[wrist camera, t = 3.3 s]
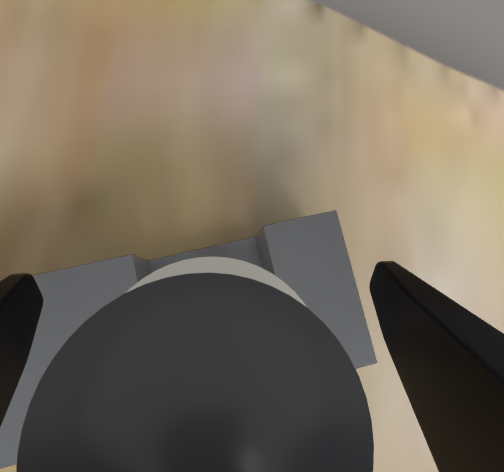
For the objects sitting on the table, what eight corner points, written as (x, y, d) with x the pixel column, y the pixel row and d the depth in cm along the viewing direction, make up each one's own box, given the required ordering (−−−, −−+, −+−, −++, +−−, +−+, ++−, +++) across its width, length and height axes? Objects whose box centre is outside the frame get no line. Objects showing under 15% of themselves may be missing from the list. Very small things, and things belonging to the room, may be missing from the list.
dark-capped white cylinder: (228, 362, 15) (282, 806, 2) (167, 325, 15) (-138, 556, 2) (264, 299, 16) (474, 363, 3) (205, 263, 16) (140, 162, 3)
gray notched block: (339, 344, 17) (376, 362, 13) (-217, 494, 14) (-395, 579, 10) (309, 227, 17) (336, 210, 13) (-225, 345, 14) (-394, 367, 10)
